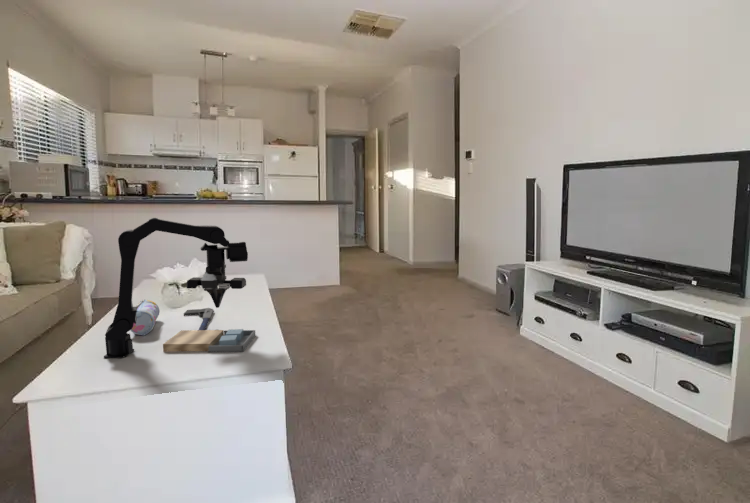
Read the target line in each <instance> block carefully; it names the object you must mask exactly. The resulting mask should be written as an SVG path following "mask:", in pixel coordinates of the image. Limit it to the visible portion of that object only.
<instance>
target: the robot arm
mask: <svg viewBox="0 0 750 503" xmlns="http://www.w3.org/2000/svg"><path fill="white" fill-rule="evenodd" d="M157 231H158V232H163V233H169V234H174V235H181V236H187V237H192V238H196V239H199V240H201V241H204V242H205V243H204V244H203V245H202V246H201V247H200V248H199V249H200V251H202V252H203V251H204V252H205V251H206V267H205V272H204V274H203V275H202V277H196V276H194V277H192V278H189V279H188V280H187V281H186V283H185V284H186V289H196V288H198V286H201V288H202V289H203V291H205V292H207V293H208V294H209V296H210V297H211V299H212V303H214V307H215V308H216V309H219V308H220V306H221V303H222V300H223V298H224V295H225V293H226V291H227V290H229V289H230V288H231V289H236V290H238V289H239V290H241V289H243V288H245V287H246V286H247V280H246V278H245V277H233V278H231V279H230V280H228V279H227V276H226V268H227V264H226V260H229V262H230V263H235V262H236V263H238V262H241V263H242V262H247V261H248V258H249V257H248V256H249V255H248V253H249V252H248V248H247V244H246V243H247V242H246V241H239V242H230V241H229V240H228V239H227V238H226V236H225V231H224V230H223V229H222V228H221V227H220V226H217V225H194V224H188V223H183V222H182V223H181V222H178V221H177V222H176V221H171V220H164V219H160V218H158V217H151V218H149V219H148V221H146V222H144V223H142V224H141V225H139V226H137V227H135V228H134V229H126V230H124V231H123V232H121V234H119V236H118V238H117V239H118V240H117V241H118V242H117V243H118V249H119V255H120V259H121V262H120V277H119V289H118V290H119V291H118V303H117V305H116V306H117V307H116V309H115V314H114V318H113V321H112V323H111V324H110V325H109V326H108V327H107V329H106V332H105V334H104V336H105V337H104V339H105V340H104V341H105V351H106V354H105V355H103V358H105V359H106V358H108V359H109V358H111V359H113V358H125V357H127V356H128V355H130V354H131V353H133V352H134V351H135V348H134V345H133V339H132V337H131V333H128V332H129V331H130V332H131V329H132V328H133V324H134V323H135V324H136V321H137V316H136V312H137V308H138V306H137V305H136V306H134V304H133V293H134V278H135V277H134V276H135V262H136V257H137V254H138V250H139V245H140V243H141V241H143V240H144V239H145V238H147V237H148V236H150V235H151V234H153V233H154V232H157ZM207 242H208V243H210V244H208V243H207ZM218 244H219V245H220V246H219V247H218ZM225 258H226V259H225Z"/></svg>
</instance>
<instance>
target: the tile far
mask: <svg viewBox="0 0 750 503" xmlns="http://www.w3.org/2000/svg"><path fill="white" fill-rule="evenodd" d="M227 330H228V331H227V333H226V334H225V336H227V335H237V341H241V339H242V338H243V336H244V334H243V330H244V329H243V328H235V329H233V328H231V329H227Z"/></svg>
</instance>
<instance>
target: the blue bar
mask: <svg viewBox="0 0 750 503" xmlns="http://www.w3.org/2000/svg"><path fill="white" fill-rule="evenodd" d="M214 313H215V310H214V309H213V308H212V307H206V308H200V309H199V308H198V309H195V308H194V309H187V310H186V311H185V312H184V313H183V316H184V317H185V315H188V316H198V317H199V318H202V321H201V323H200V325H199V328H198V330H207V327H208V324H209V322H211V320H212V318H213V315H214Z"/></svg>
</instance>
